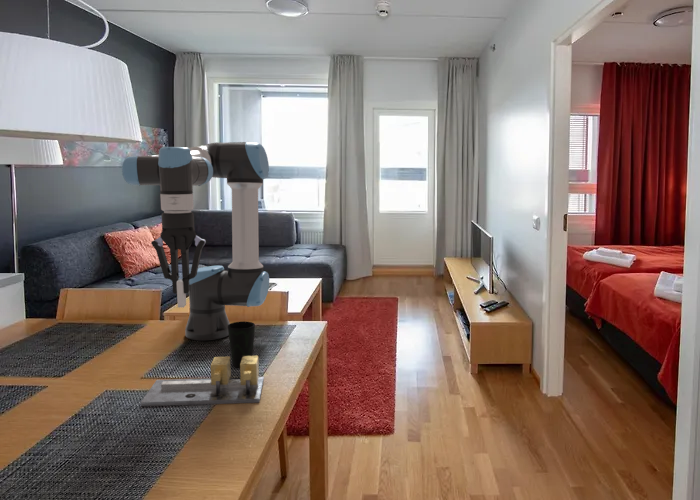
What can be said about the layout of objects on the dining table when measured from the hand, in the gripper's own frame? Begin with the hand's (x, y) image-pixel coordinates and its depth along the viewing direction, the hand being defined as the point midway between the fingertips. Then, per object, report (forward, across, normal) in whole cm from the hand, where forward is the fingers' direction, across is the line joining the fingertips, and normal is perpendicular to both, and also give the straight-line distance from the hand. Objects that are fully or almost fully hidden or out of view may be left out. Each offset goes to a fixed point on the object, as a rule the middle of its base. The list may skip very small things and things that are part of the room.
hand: (182, 305), depth 136 cm
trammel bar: (+21, +6, -2) cm, 22 cm away
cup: (+23, +12, +17) cm, 31 cm away
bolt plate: (+22, +5, -2) cm, 23 cm away
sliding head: (+21, +9, -2) cm, 23 cm away
